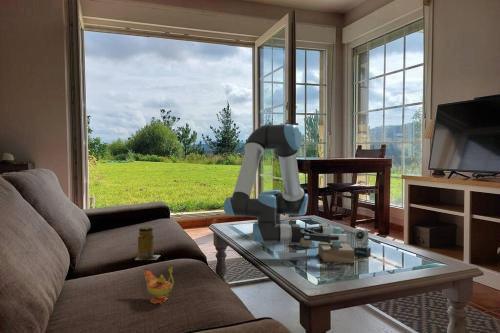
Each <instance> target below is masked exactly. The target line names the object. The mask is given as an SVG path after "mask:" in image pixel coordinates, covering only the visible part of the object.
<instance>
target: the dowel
mask: <svg viewBox="0 0 500 333" xmlns="http://www.w3.org/2000/svg"><path fill="white" fill-rule="evenodd" d="M332 228H333V234H342V227H338V226H335V227H332ZM331 243H332V248H340V243H342V241H331Z"/></svg>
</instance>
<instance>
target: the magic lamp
mask: <svg viewBox="0 0 500 333" xmlns="http://www.w3.org/2000/svg"><path fill="white" fill-rule="evenodd" d="M173 269H174V267H173V266H169V268H168V272H169V278H168V280H166V277H165V276H164V275H163V274H160V276H159V278H158V277H156V276H155V275H154V274H153V273H152V272H151V271H150V270H149V269H148V268H146V267H142V268H141V271H142V272H143V274H144V275H143V276H144V278H145V283H146V289H147V291H148V292H149V294H151V295H153V296H154V297H152V298H151V299H150V303H152V304H156V303H160V304H162V303H161V302H165V301H166V300H167V299H168V298H169V295H170V294H169V293H170V292H171V291H172V289H173V286H174V283H175V282H174V278H173V274H172V273H174V272H173ZM170 281H172V282H170ZM167 297H168V298H167ZM165 303H166V302H165Z"/></svg>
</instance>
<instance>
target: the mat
mask: <svg viewBox="0 0 500 333" xmlns="http://www.w3.org/2000/svg"><path fill="white" fill-rule="evenodd" d="M277 254H278V257H279V260H280V261H303V262H304V261H309V262H310V261H311V259H310V258H309V255H308V254H307V252H288V251H287V252H286V251H284V252H281V251H280V252H279V251H278V252H277Z"/></svg>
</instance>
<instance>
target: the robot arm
mask: <svg viewBox="0 0 500 333" xmlns="http://www.w3.org/2000/svg"><path fill="white" fill-rule="evenodd" d="M301 138H302V136H301V131H300V129H299V127H298V126H297V125H296V124H288V123H287V124H264V125H260V126H258V127H257V128H256V129H255V130H253V131H252V132H251V134H249V136H248V137H247V139H246V141H245V144H244V148H243V149H244V155H243V158H242V162H241V165H240V169H239V172H238V175H237V179H236V182H235V185H234V190H233V192H232V195H231V196H230V197H228V196H227V197H226V198H225V199H224V201H223V211H224V214H225V215H227V216H233V217H237V216H238V217H249V218H257V223H253V225H252V240H253V241H254V242H255V243H264V244H265V243H281V244H282V245H284V244H286V243H290V242H291V243H292V244H293V243H300V241H301V238H304V240H311V241H312V242H318V243H331V242H333V241H341V242H344V243H347V242H348V235H347V233H341V234H333V228H334V227H323V226H324V225H319V226H311V227H310V226H309V227H301V225H300V224H298V223H297V224H295V223H294V224H293V223H292V224H289V223H282V219H281V215H289V216H304V215H306V213H307V209H308V205H309V204H308V203H309V194H308V193H305V191H304V189H303V188H302V187H301V183H300V182H301V181H300V174H299V168H298V167H299V166H298V161H297V160H298V159H297V153H298V152H299V150H300V149H301V147H302V140H301ZM266 150H273V152H274V155H275V156H276V157H278V162H279V167H280V174H281V180H282V184H283V191H282V190H281V189H272V190H264V191H261V192H260V193H259V194H258V196H257V198H251V194H252V190H253V188H254V187H253V186H254V183H255V179H256V176H257V172H258V169H259V164H260V161H261V157H262V156H263V155H264V153H265V151H266Z"/></svg>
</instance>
